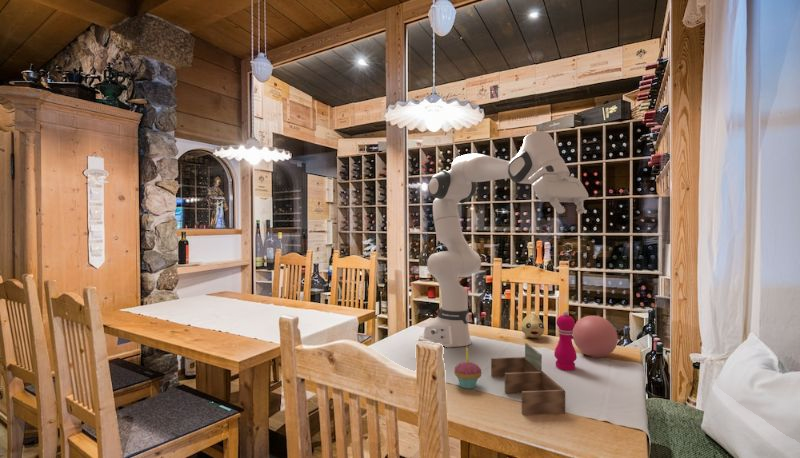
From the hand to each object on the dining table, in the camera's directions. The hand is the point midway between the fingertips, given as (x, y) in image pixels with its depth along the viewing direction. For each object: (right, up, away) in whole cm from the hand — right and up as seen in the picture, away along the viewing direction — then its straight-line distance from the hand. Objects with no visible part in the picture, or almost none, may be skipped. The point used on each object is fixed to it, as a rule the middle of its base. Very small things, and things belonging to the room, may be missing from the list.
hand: (572, 212), depth 119 cm
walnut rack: (-15, -54, -1) cm, 56 cm away
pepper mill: (+6, -54, +20) cm, 58 cm away
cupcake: (-31, -54, +4) cm, 63 cm away
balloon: (+22, -54, +33) cm, 67 cm away
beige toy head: (+6, -53, +54) cm, 76 cm away
